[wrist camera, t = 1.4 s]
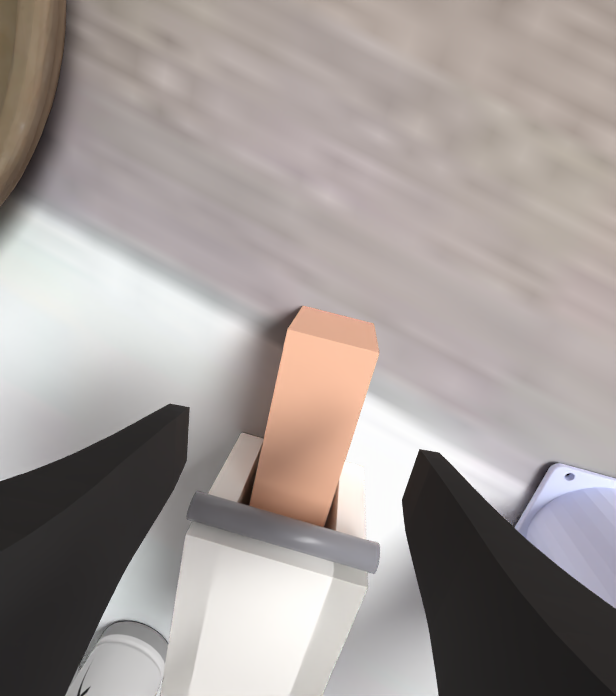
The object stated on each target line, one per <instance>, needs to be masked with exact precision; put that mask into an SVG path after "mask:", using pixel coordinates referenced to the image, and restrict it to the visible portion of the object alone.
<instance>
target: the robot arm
mask: <svg viewBox="0 0 616 696" xmlns="http://www.w3.org/2000/svg"><path fill="white" fill-rule="evenodd" d="M189 408H190V407H185V406H180V405H174V404H169V405H167V406H165V407H163V408H161V409H159V410H157V411H155V412H154V413H152V414H150V415H148V416H146V417H145V418H143V419H141V420H139V421H137V422H136V423H134V424H132V425H130V426H128V427H126V428H124V429H123V430H121V431H119V432H117V433H115V434H113V435H111V436H109V437H107V438H105V439H103V440H101V441H99V442H97V443H95V444H93V445H91V446H89V447H87V448H85V449H82V450H80V451H78V452H76V453H74V454H72V455H69V456H67V457H65V458H62V459H60V460H58V461H55V462H53V463H50V464H48V465H45V466H42V467H40V468H37V469H35V470H32V471H29V472H27V473H24V474H21V475H18V476H15V477H12V478H9V479H6V480H3V481H0V696H65V695H66V693H67V691H68V688H69V686H70V684H71V682H72V680H73V677H74V675H75V673H76V671H77V669H78V666H79V664H80V662H81V660H82V658H83V655H84V653H85V651H86V649H87V647H88V645H89V643H90V641H91V639H92V636H93V634H94V632H95V630H96V628H97V626H98V624H99V622H100V620H101V617H102V615H103V613H104V611H105V609H106V607H107V605H108V603H109V601H110V599H111V597H112V595H113V593H114V591H115V589H116V587H117V585H118V583H119V581H120V579H121V577H122V575H123V573H124V571H125V570H126V568H127V566H128V564H129V563H130V561H131V559H132V557H133V556H134V554H135V552H136V551H137V549H138V548H139V546H140V544H141V543H142V541H143V539H144V538H145V536H146V535H147V533H148V531H149V530H150V528H151V526H152V525H153V523H154V521H155V520H156V518H157V517H158V515H159V513H160V512H161V510H162V508H163V507H164V505H165V503H166V502H167V500H168V498H169V497H170V495H171V493H172V492H173V490H174V488H175V486H176V483H177V481H178V479H179V477H180V475H181V472H182V470H183V468H184V466H185V463H186V461H187V444H188V426H189ZM568 473H570V475H568V476H565V475H566V474H568ZM402 506H403V515H404V524H405V531H406V536H407V541H408V545H409V549H410V553H411V557H412V561H413V565H414V569H415V573H416V577H417V581H418V585H419V589H420V593H421V597H422V601H423V605H424V609H425V614H426V618H427V623H428V628H429V633H430V639H431V646H432V652H433V659H434V665H435V672H436V679H437V686H438V694H439V696H616V478H612V477H608V476H605V475H601V474H598V473H594V472H590V471H587V470H583V469H579V468H576V467H572V466H568V465H565V464H560V463H557V464H554V465H552V466H551V467H550V468H549V469H548V471H547V473H546V474H545V476H544V478H543V480H542V481H541V483H540V485H539V486H538V488H537V490H536V492H535V493H534V495H533V497H532V499H531V500H530V502H529V504H528V505H527V507H526V509H525V511H524V512H523V514H522V516H521V517H520V519H519V521H518V523H517V524H516V526H515V528H514V527H513V526H512V525H511V524H510V523H509V522H508V521H506V520H505V519H504V518H503V517H502V516H501V515H500V514H499V513H498V512H497V511H496V510H495V509H494V508H493V507H492V506H491V505H490V504H489V503H488V502H487V501H486V500H485V499H484V498H483V497H482V496H481V495H480V494H479V493H478V492H477V491H476V490H475V489H474V488H473V487H472V486H471V485H470V484H469V483H468V481H467V480H466V479H465V478H464V477H463V476H462V475H461V474H460V473H459V472H458V471H457V470H456V469H455V468H454V467H453V466H452V465H451V464H450V463H449V462H448V461H447V460H446V459H445V458H444V457H443V456H442V455H441V454H440V453H438V452H432V451H427V450H421V449H419V452H418V455H417V458H416V461H415V464H414V467H413V469H412V472H411V475H410V478H409V481H408V484H407V487H406V490H405V493H404V495H403V498H402Z"/></svg>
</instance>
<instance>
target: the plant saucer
mask: <svg viewBox="0 0 616 696" xmlns="http://www.w3.org/2000/svg"><path fill="white" fill-rule="evenodd" d="M65 29H66V0H0V206H1V205H2V204H3V203H4V201H5V200H6V199H7V197H8V196H9V195H10V194H11V192H12V191H13V190H14V188H15V186H16V185H17V183H18V181H19V180H20V178H21V177H22V175H23V173H24V171H25V169H26V167H27V165H28V163H29V161H30V159H31V157H32V155H33V153H34V151H35V148H36V146H37V144H38V142H39V139H40V137H41V135H42V132H43V129H44V126H45V124H46V121H47V118H48V116H49V113H50V110H51V108H52V104H53V100H54V96H55V93H56V89H57V84H58V79H59V74H60V68H61V62H62V56H63V51H64V40H65Z"/></svg>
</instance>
